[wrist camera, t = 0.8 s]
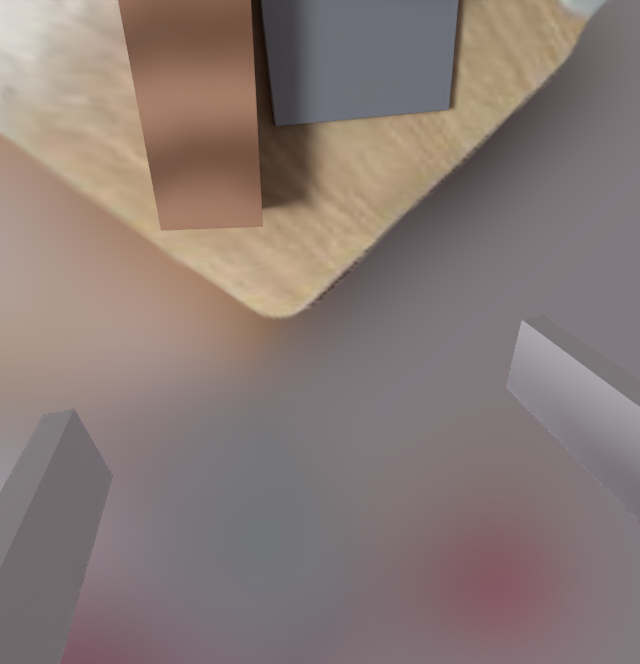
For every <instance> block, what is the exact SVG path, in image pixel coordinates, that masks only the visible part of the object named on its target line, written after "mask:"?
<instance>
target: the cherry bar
mask: <svg viewBox="0 0 640 664" xmlns="http://www.w3.org/2000/svg"><path fill="white" fill-rule="evenodd" d="M118 1H119V7H120V12H121V17H122V23H123V28H124V33H125V39H126V44H127V50H128V55H129V60H130V66H131V71H132V76H133V82H134V87H135V92H136V98H137V103H138V109H139V114H140V119H141V125H142V130H143V135H144V141H145V146H146V151H147V157H148V162H149V168H150V173H151V178H152V184H153V189H154V194H155V200H156V205H157V210H158V216H159V221H160V227H161V230H183V229H210V228H237V227H263V220H262V201H261V182H260V163H259V144H258V125H257V106H256V88H255V69H254V50H253V31H252V12H251V0H118Z"/></svg>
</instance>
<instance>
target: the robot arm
mask: <svg viewBox="0 0 640 664" xmlns="http://www.w3.org/2000/svg"><path fill="white" fill-rule="evenodd" d="M506 388H507V389H508V390H509V391H510V392H511V393H512V394H513V395H514V396H515V397H516V398H517V399H518V400H519V401H520V402H521V403H522V404H523V405H524V406H525V407H526V408H527V409H528V410H529V411H530V412H531V413H532V414H533V415H534V416H535V417H536V418H537V419H538V420H539V421H540V422H541V423H542V424H543V425H544V426H545V427H546V428H547V429H548V430H549V431H550V433H552V435H553V436H554V437H555V438H556V439H557V440H559V442H560V443H561V444H562V445H563V446H564V447H565V448H566V449H567V450H568V451H569V452H570V453H571V454H572V455H573V456H574V457H575V458H576V459H577V460H578V461H579V462H580V463H581V464H582V465H583V466H584V467H585V468H586V469H587V470H588V471H589V472H590V473H591V474H592V475H593V476H594V477H595V478H596V479H597V480H598V481H599V482H600V483H601V484H602V485H603V486H604V487H605V489H606V490H607V491H608V492H609V493H611V495H612V496H613V497H614V498H615V499H616V500H617V501H618V502H619V503H620V504H621V505H622V506H623V507H624V508H625V509H626V510H627V511H628V512H629V513H630V514H631V515H632V516H633V517H634V518H635V519H636V520H637V521H638V522H639V523H640V381H639V380H638V379H637V378H635V377H634V376H632V375H631V374H629V373H628V372H626V371H625V370H624V369H622V368H620V367H619V366H618V365H616V364H615V363H613V362H612V361H610V360H609V359H607V358H606V357H604V356H603V355H601V354H600V353H598V352H597V351H596V350H594V349H593V348H591V347H590V346H588V345H587V344H585V343H584V342H582V341H581V340H579V339H578V338H576V337H575V336H573V335H572V334H570V333H569V332H567V331H566V330H564V329H563V328H562V327H560V326H559V325H557V324H556V323H554V322H553V321H551V320H550V319H548V318H547V317H545V316H539V317H534V318H529V319H524V320H522V322H521V326H520V331H519V335H518V339H517V343H516V347H515V352H514V356H513V360H512V364H511V368H510V373H509V377H508V381H507V385H506ZM112 477H113V475H112V473H111V471H110V470H109V468H108V466H107V464H106V463H105V461H104V459H103V457H102V456H101V454H100V452H99V451H98V449H97V447H96V445H95V444H94V442H93V440H92V439H91V437H90V435H89V433H88V432H87V430H86V428H85V426H84V425H83V423H82V421H81V420H80V418H79V416H78V414H77V413H76V411H75V409H71V410H66V411H61V412H56V413H51V414H46V415H43V416H42V418H41V420H40V421H39V423H38V425H37V427H36V429H35V430H34V432H33V434H32V436H31V438H30V440H29V441H28V443H27V445H26V447H25V449H24V450H23V452H22V454H21V456H20V458H19V459H18V461H17V463H16V465H15V467H14V469H13V470H12V472H11V474H10V476H9V477H8V479H7V481H6V483H5V485H4V487H3V488H2V490H1V492H0V664H60V663H61V659H62V655H63V652H64V648H65V645H66V641H67V638H68V634H69V631H70V627H71V623H72V620H73V616H74V613H75V609H76V605H77V602H78V598H79V595H80V591H81V588H82V584H83V581H84V577H85V574H86V570H87V566H88V563H89V559H90V556H91V552H92V548H93V545H94V542H95V538H96V534H97V531H98V527H99V524H100V520H101V517H102V513H103V509H104V506H105V502H106V499H107V495H108V491H109V488H110V485H111V481H112Z"/></svg>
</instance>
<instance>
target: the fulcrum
mask: <svg viewBox="0 0 640 664" xmlns="http://www.w3.org/2000/svg"><path fill="white" fill-rule="evenodd" d="M259 3H260V11H261V20H262V28H263V36H264V45H265V53H266V61H267V70H268V78H269V86H270V95H271V103H272V111H273V120H274V126H283V125H294V124H304V123H315V122H325V121H336V120H346V119H356V118H367V117H377V116H388V115H398V114H409V113H419V112H429V111H440V110H449V103H450V91H451V80H452V68H453V57H454V45H455V34H456V23H457V11H458V0H259Z"/></svg>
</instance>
